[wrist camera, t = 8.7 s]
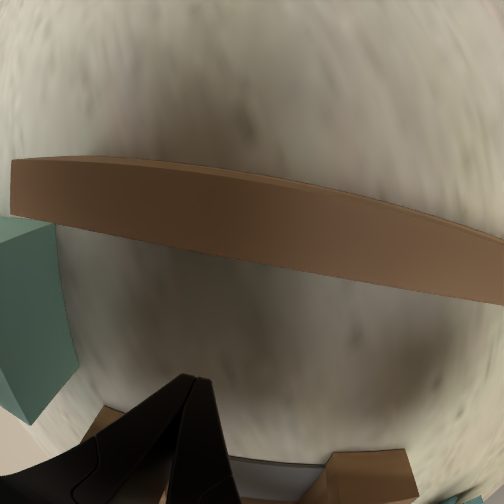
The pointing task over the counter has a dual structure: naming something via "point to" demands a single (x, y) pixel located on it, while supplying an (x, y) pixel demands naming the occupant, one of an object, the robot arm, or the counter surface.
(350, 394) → the counter surface
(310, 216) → the brown walled enclosure
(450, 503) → the teapot
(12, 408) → the teal block
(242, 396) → the counter surface
